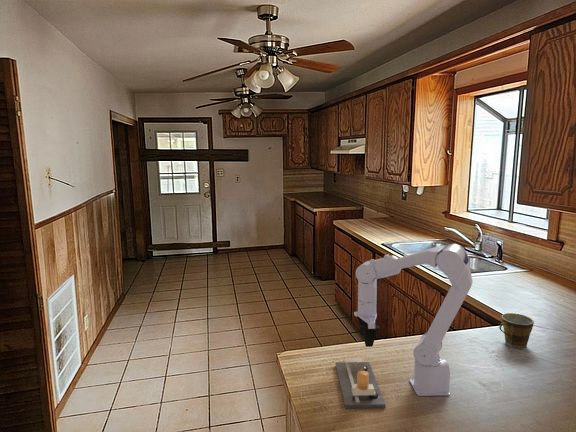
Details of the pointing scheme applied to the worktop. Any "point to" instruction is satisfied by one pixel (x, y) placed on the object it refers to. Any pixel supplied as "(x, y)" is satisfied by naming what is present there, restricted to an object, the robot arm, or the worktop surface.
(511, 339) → the ceramic cup
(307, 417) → the worktop surface
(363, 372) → the block with orange knob
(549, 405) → the worktop surface
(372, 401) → the hole plate
